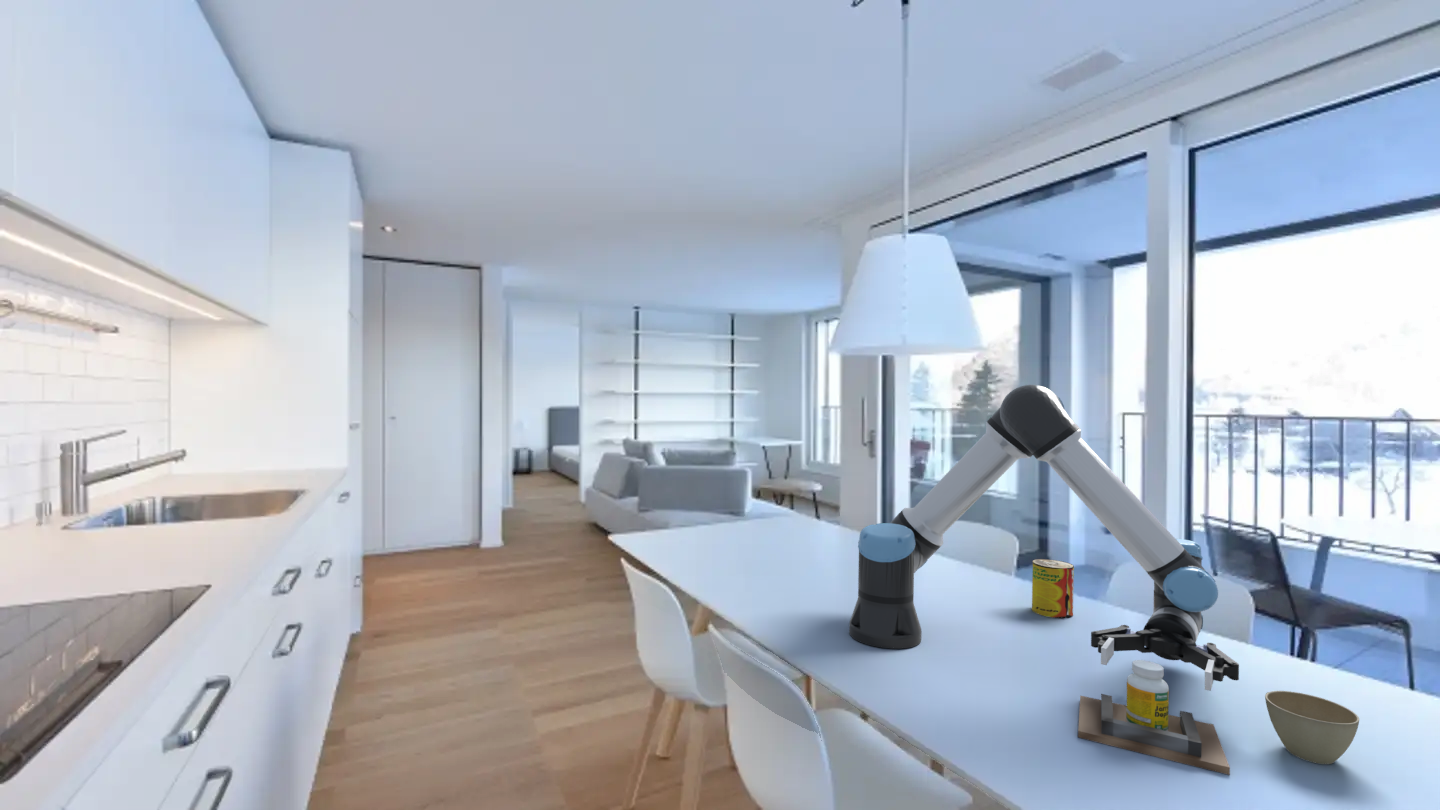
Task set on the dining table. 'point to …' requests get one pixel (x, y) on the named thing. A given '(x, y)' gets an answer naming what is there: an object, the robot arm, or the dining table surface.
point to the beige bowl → (1311, 725)
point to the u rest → (1152, 735)
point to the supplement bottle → (1147, 695)
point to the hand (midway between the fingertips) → (1153, 668)
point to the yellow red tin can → (1052, 588)
